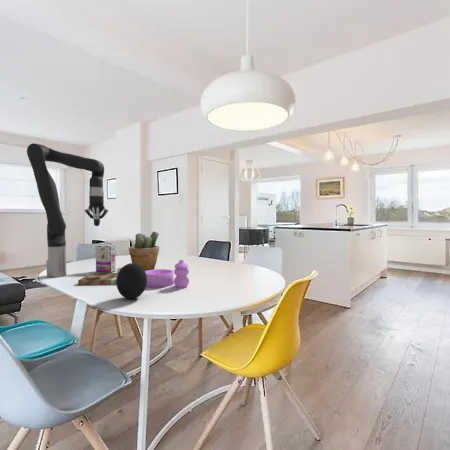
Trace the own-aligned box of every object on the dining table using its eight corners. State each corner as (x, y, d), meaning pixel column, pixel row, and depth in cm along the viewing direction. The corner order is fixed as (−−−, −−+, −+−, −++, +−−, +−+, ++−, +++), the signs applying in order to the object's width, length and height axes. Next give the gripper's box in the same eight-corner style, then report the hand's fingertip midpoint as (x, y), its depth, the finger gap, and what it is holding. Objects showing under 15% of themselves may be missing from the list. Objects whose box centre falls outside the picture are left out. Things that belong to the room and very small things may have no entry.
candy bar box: (116, 271, 189) (115, 245, 189) (110, 272, 184) (110, 246, 184) (101, 270, 192) (100, 244, 192) (95, 271, 188) (95, 245, 187)
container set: (136, 286, 151) (136, 259, 150) (155, 280, 165) (155, 255, 164) (180, 291, 141) (179, 262, 140) (195, 284, 155) (195, 258, 155)
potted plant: (141, 276, 174) (140, 233, 174) (122, 272, 186) (121, 231, 185) (165, 271, 189) (165, 231, 188) (146, 268, 200) (146, 230, 199)
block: (117, 276, 160) (116, 268, 160) (119, 275, 165) (119, 266, 165) (126, 276, 161) (126, 268, 160) (128, 274, 166) (128, 266, 165)
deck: (78, 285, 152) (78, 275, 152) (91, 277, 170) (91, 268, 170) (127, 284, 154) (126, 274, 154) (134, 276, 172) (134, 268, 172)
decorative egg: (110, 299, 126) (109, 263, 126) (134, 293, 137) (133, 260, 136) (129, 304, 119) (129, 266, 119) (153, 297, 130) (152, 262, 129)
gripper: (81, 195, 168) (82, 226, 168) (106, 195, 169) (106, 226, 169) (86, 196, 175) (87, 225, 176) (110, 196, 176) (110, 225, 177)
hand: (96, 226), depth 172 cm, fingers closed
